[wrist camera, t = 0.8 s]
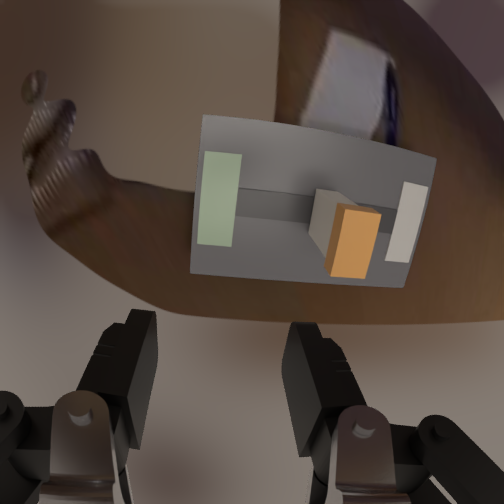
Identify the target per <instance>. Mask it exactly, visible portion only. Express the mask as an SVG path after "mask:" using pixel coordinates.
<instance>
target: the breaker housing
mask: <svg viewBox="0 0 504 504" xmlns="http://www.w3.org/2000/svg"><path fill="white" fill-rule="evenodd" d="M436 160H437V158H433V157H430V156H427V155H423V154H420V153H417V152H413V151H410V150H406V149H402V148H399V147H395V146H391V145H387V144H383V143H379V142H375V141H371V140H367V139H362V138H358V137H354V136H349V135H344V134H339V133H335V132H330V131H324V130H319V129H314V128H308V127H302V126H296V125H290V124H283V123H277V122H269V121H262V120H254V119H246V118H236V117H227V116H216V115H203V118H202V126H201V137H200V146H199V155H198V165H197V176H196V189H195V200H194V213H193V228H192V244H191V263H190V273H193V274H204V275H216V276H228V277H240V278H253V279H266V280H280V281H294V282H309V283H324V284H340V285H357V286H376V287H395V288H403V287H404V284H405V281H406V278H407V275H408V271H409V268H410V265H411V262H412V259H413V255H414V252H415V249H416V245H417V242H418V238H419V234H420V231H421V227H422V223H423V219H424V215H425V211H426V207H427V203H428V199H429V194H430V190H431V185H432V181H433V176H434V171H435V166H436ZM316 189H323V190H329V191H336V192H339V193H341V194H342V195H344V196H345V197H347V198H348V199H350V200H351V201H353V202H354V203H355V204H357V205H358V206H363V207H369V208H373V209H374V210H376V211H377V212H379V213H380V214H382V215H381V219H380V223H379V227H378V232H377V236H376V240H375V243H374V247H373V251H372V255H371V259H370V262H369V266H368V270H367V273H366V277H365V279H361V278H346V277H331V276H330V275H329V274H328V272H327V270H326V269H325V267H324V263H325V259H326V258H325V257H324V255H323V254H322V252H321V251H320V249H319V248H318V246H317V245H316V243H315V242H314V241H313V239H312V238H311V236H310V235H309V233H308V232H309V227H310V221H311V216H312V210H313V205H314V199H315V194H316Z"/></svg>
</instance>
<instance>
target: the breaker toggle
mask: <svg viewBox="0 0 504 504" xmlns="http://www.w3.org/2000/svg"><path fill="white" fill-rule="evenodd" d="M381 215H382V214H380V213H379V212H377V211H376V210H374V209H373V208H369V207H363V206H358V205H357V204H355V203H354V202H353V201H351V200H350V199H348V198H347V197H345V196H344V195H342V194H341V193H339V192H336V191H329V190H323V189H316V194H315V199H314V205H313V210H312V216H311V221H310V227H309V232H308V233H309V235H310V236H311V238H312V239H313V241H314V242H315V243H316V245H317V246H318V248H319V249H320V251H321V252H322V254H323V255H324V257H325V258H326V259H325V263H324V267H325V269H326V270H327V272H328V274H329V275H330V276H331V277H346V278H361V279H365V277H366V273H367V270H368V266H369V262H370V259H371V255H372V251H373V247H374V243H375V240H376V236H377V232H378V227H379V223H380V219H381Z"/></svg>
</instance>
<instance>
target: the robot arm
mask: <svg viewBox="0 0 504 504" xmlns="http://www.w3.org/2000/svg"><path fill="white" fill-rule="evenodd" d="M346 360H347V359H346V357H345V355H344V353H343V351H342V349H341V347H339V346H338V345H337V344H336V343H335V342H334V341H333V340H332V339H331V338H323V337H322V335H321V332H320V330H319V328H318V326H317V324H316V323H315V322H292V323H291V325H290V330H289V333H288V337H287V342H286V346H285V350H284V354H283V359H282V378H283V383H284V388H285V392H286V397H287V402H288V406H289V411H290V416H291V421H292V425H293V430H294V435H295V440H296V444H297V449H298V454H299V457H309V456H311V458H312V462H313V466H312V468H311V470H310V473H309V480H308V487H307V494H306V501H305V504H451V503H450V502H449V501H448V500H447V498H446V497H445V496H444V495H443V494H442V493H441V492H440V490H439V489H438V488H437V487H436V486H435V485H434V484H433V483H432V481H431V480H430V479H429V478H430V477H431V476H432V475H433V476H434V477H435V478H436V480H437V481H438V482H439V483H440V484H441V485H442V486H443V487H444V488H445V490H446V491H447V492H448V493H449V494H450V495H451V496H452V497H453V499H454V500H455V501H456V502H457V504H504V472H503V471H502V470H501V469H500V468H499V467H498V466H497V465H496V464H495V463H494V462H493V461H492V460H491V459H490V458H489V457H488V456H487V455H486V454H485V453H484V452H483V451H482V450H481V449H480V448H479V447H478V446H477V445H476V444H475V443H474V442H473V441H472V440H471V439H470V438H469V437H468V436H467V435H466V434H465V433H464V432H463V431H462V430H461V429H460V428H459V427H458V426H457V425H456V424H455V423H454V422H453V421H452V420H450V419H449V418H446V417H444V416H441V415H430V416H427V417H425V418H424V419H423V420H422V421H421V422H420V424H419V425H418V426H417V427H413V426H403V425H394V424H390V423H389V422H388V420H387V418H386V417H385V416H384V415H383V414H382V413H381V412H379V411H378V410H376V409H374V408H372V407H369V406H367V404H366V402H365V399H364V397H363V395H362V393H361V390H360V388H359V386H358V384H357V381H356V379H355V377H354V375H353V373H352V372H351V368H350V366H349V364H348V362H346ZM157 361H158V342H157V323H156V312H155V311H148V310H139V309H131V311H130V313H129V315H128V318H127V320H126V322H125V324H122V323H113V324H112V325H111V326H110V327H108V328H107V329H106V330H105V331H104V332H103V334H102V336H101V338H100V340H99V342H98V345H97V346H96V348H95V350H94V352H93V355H92V356H91V359H90V361H89V363H88V365H87V367H86V369H85V371H84V374H83V376H82V378H81V380H80V383H79V385H78V387H77V389H76V391H72V392H69V393H67V394H65V395H63V396H62V397H61V398H60V399H59V400H58V401H57V402H56V404H55V406H50V407H24V405H23V403H22V401H21V400H20V399H19V397H18V396H17V395H15V394H14V393H11V392H8V391H0V504H37V503H38V501H39V504H134V502H133V496H132V491H131V486H130V480H129V474H128V469H127V464H126V461H127V456H128V451H129V448H132V449H138V450H140V445H141V440H142V435H143V430H144V425H145V419H146V415H147V410H148V405H149V400H150V395H151V391H152V386H153V381H154V377H155V373H156V368H157Z"/></svg>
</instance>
